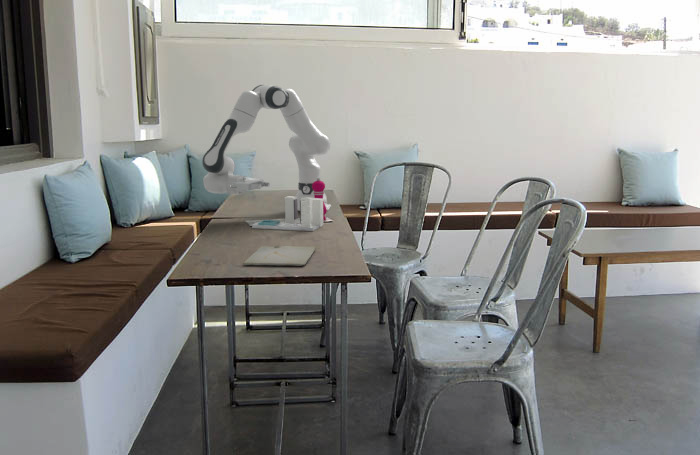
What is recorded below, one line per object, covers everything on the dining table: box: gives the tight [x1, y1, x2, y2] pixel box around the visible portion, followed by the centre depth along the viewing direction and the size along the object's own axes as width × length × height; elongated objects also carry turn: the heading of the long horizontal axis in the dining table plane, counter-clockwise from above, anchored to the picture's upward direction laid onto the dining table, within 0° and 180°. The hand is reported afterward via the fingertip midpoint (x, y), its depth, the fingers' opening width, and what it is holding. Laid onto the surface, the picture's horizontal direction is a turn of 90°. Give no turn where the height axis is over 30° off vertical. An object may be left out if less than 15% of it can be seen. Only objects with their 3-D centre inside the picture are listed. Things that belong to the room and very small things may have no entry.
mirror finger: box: [313, 198, 324, 228], centre depth 274 cm, size 4×5×12 cm
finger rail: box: [251, 197, 320, 232], centre depth 270 cm, size 8×28×14 cm, turn 74°
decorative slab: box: [243, 245, 317, 267], centre depth 217 cm, size 27×21×2 cm
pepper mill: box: [312, 177, 328, 222], centre depth 288 cm, size 7×7×20 cm
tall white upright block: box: [284, 195, 299, 223], centre depth 282 cm, size 4×5×12 cm
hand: (264, 185), depth 283 cm, fingers open, 8 cm apart
